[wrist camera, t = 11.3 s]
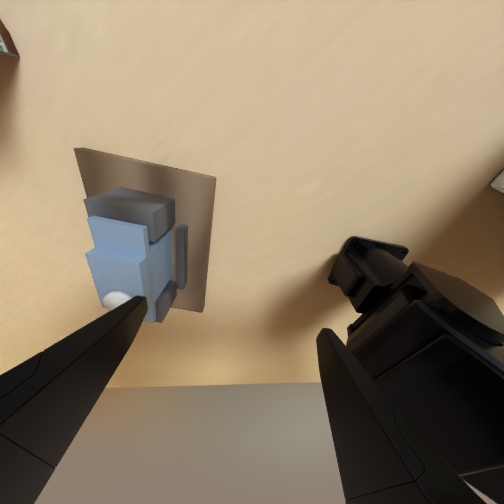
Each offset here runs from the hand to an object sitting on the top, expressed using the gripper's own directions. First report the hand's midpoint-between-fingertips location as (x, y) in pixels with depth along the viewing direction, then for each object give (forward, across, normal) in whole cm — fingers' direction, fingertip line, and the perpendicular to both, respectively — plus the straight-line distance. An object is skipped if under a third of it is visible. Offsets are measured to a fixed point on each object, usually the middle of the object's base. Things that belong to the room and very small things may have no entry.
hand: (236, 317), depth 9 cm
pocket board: (+12, +10, +5) cm, 16 cm away
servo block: (+11, +10, +5) cm, 16 cm away
